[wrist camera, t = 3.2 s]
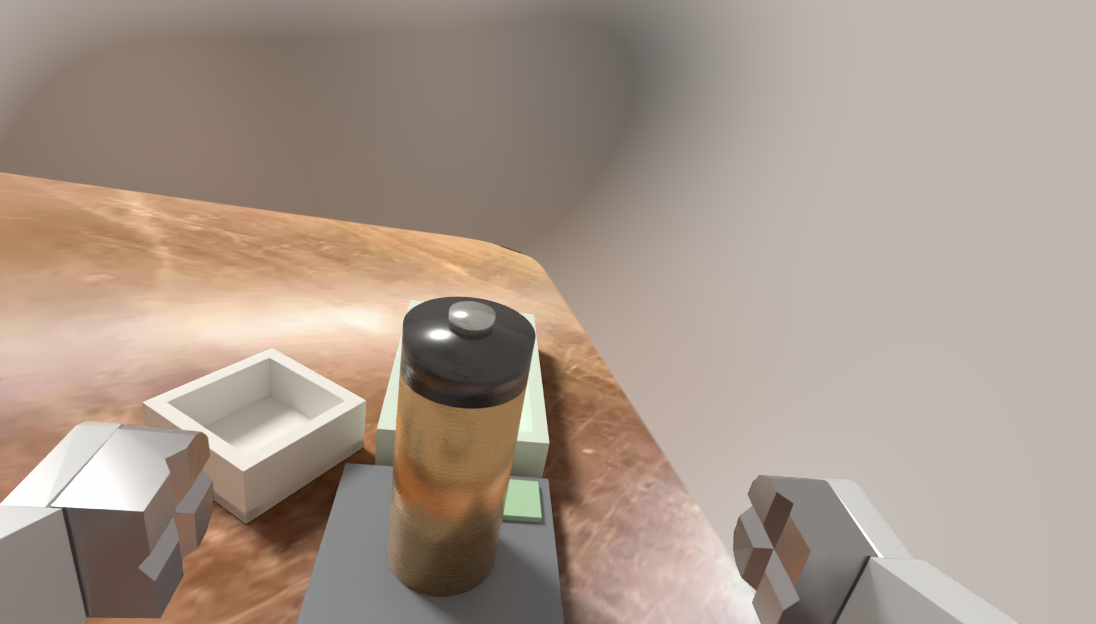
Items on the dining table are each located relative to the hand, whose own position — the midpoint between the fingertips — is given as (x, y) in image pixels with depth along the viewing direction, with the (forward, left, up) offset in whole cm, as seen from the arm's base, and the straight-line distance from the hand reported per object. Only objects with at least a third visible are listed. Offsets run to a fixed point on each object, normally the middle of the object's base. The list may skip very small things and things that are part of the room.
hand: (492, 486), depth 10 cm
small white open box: (-19, +10, -16) cm, 27 cm away
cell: (-7, +10, -15) cm, 20 cm away
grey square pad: (-7, +10, -16) cm, 20 cm away
